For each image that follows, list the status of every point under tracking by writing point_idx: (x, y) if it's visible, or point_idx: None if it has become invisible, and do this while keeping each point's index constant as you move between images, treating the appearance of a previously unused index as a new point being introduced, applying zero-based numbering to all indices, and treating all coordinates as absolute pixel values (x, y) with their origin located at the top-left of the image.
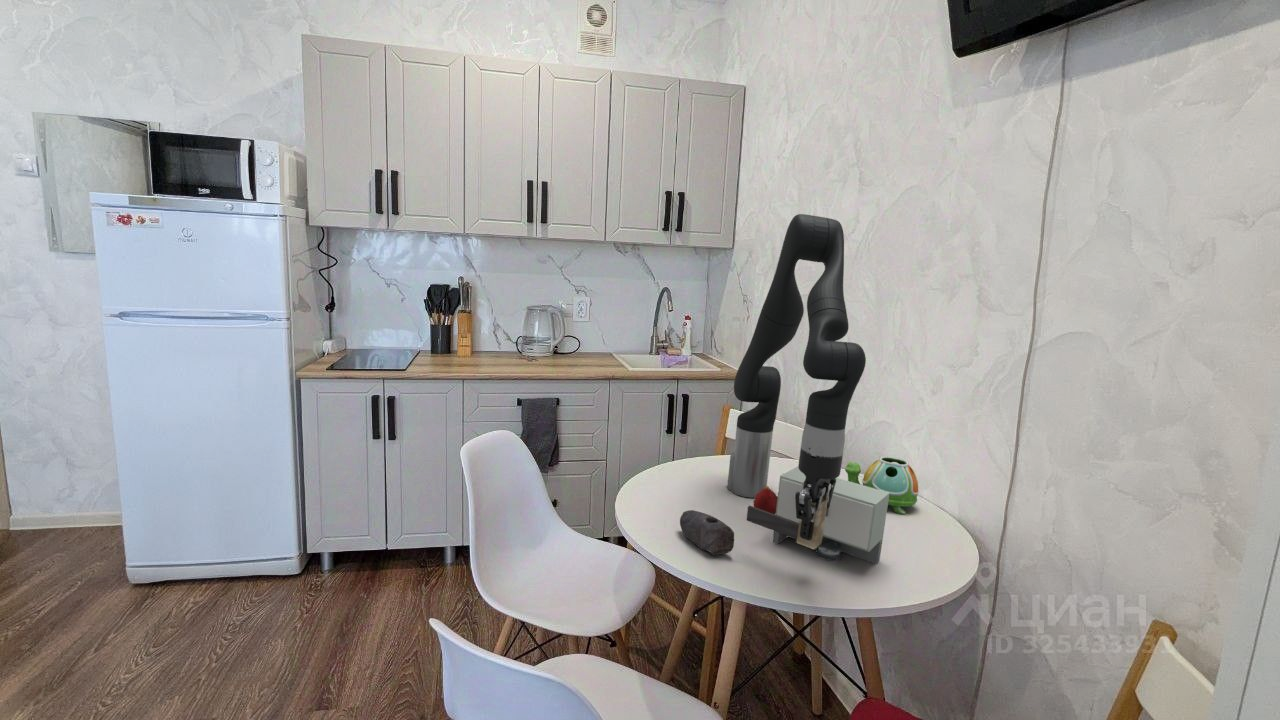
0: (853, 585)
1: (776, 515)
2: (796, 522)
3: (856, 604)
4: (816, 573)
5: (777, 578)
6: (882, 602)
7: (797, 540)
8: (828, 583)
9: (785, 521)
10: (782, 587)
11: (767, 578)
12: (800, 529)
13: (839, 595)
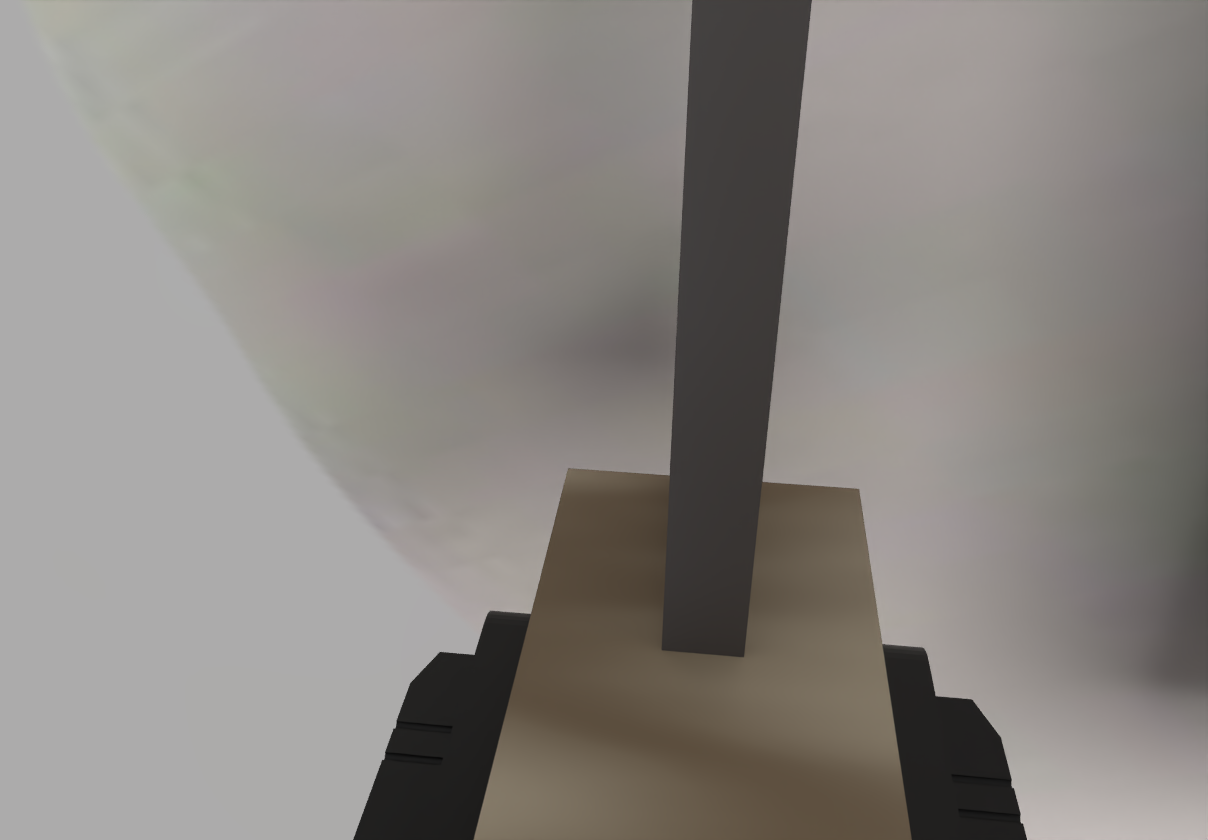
0: None
1: (768, 77)
2: (743, 545)
3: None
4: (915, 383)
5: (515, 122)
6: None
7: (561, 501)
8: None
9: (679, 336)
10: (394, 235)
11: (428, 36)
12: (463, 693)
13: None
